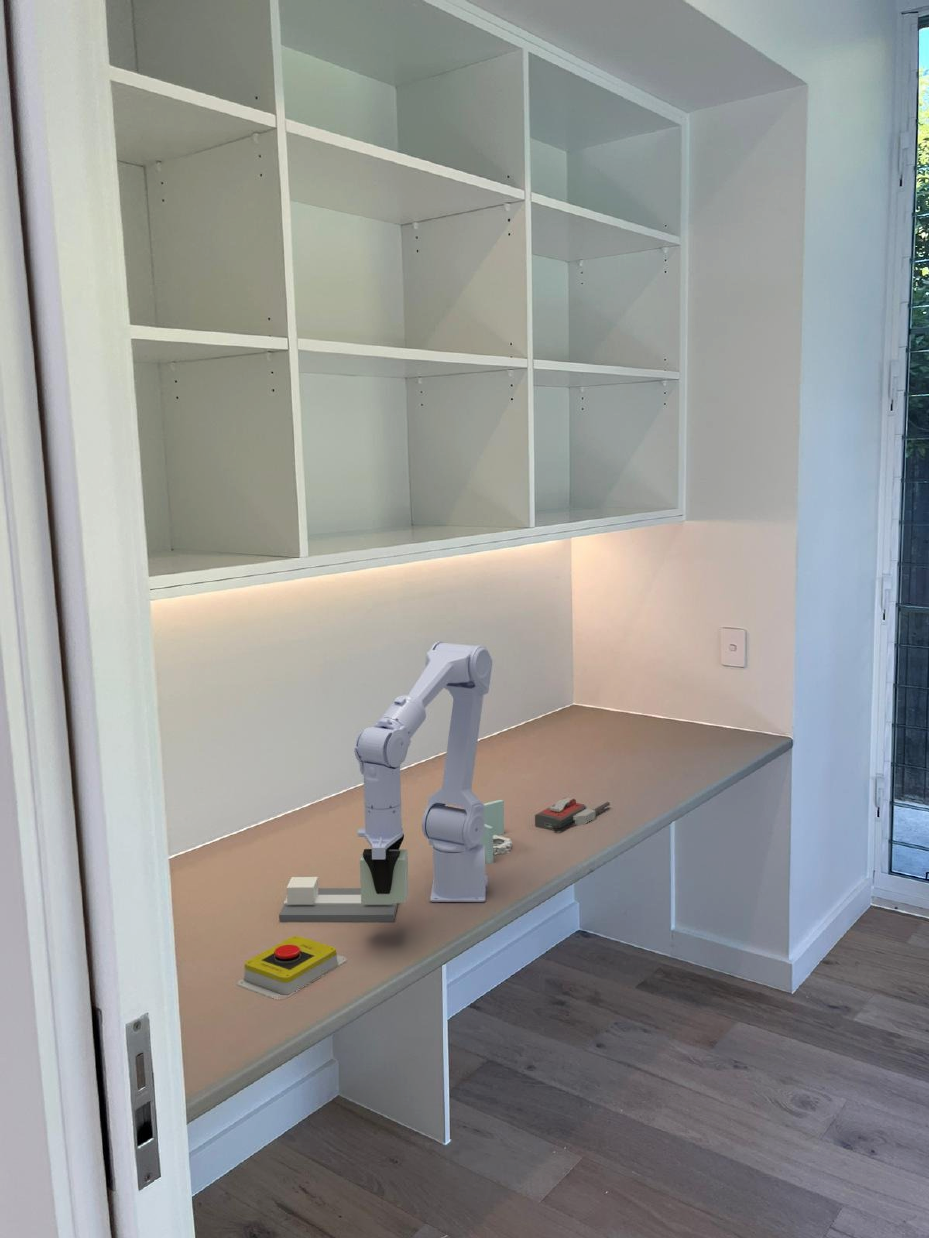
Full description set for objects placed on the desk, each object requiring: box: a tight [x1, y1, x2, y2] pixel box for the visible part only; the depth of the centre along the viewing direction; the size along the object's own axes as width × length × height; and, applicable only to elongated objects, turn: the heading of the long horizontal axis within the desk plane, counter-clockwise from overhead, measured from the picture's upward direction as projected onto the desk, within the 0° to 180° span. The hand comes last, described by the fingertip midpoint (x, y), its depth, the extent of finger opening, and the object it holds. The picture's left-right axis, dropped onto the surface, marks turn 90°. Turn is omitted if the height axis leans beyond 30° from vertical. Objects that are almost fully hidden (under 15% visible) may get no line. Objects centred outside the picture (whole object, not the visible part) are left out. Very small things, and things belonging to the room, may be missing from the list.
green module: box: [359, 849, 409, 904], centre depth 166 cm, size 7×4×7 cm, turn 88°
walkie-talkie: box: [534, 796, 611, 832], centre depth 223 cm, size 9×4×20 cm
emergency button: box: [236, 935, 347, 1000], centre depth 158 cm, size 9×4×15 cm
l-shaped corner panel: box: [478, 798, 513, 864], centre depth 207 cm, size 12×12×8 cm
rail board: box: [278, 876, 399, 923], centre depth 180 cm, size 19×11×5 cm, turn 88°
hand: (385, 886), depth 167 cm, fingers closed on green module, 4 cm apart
